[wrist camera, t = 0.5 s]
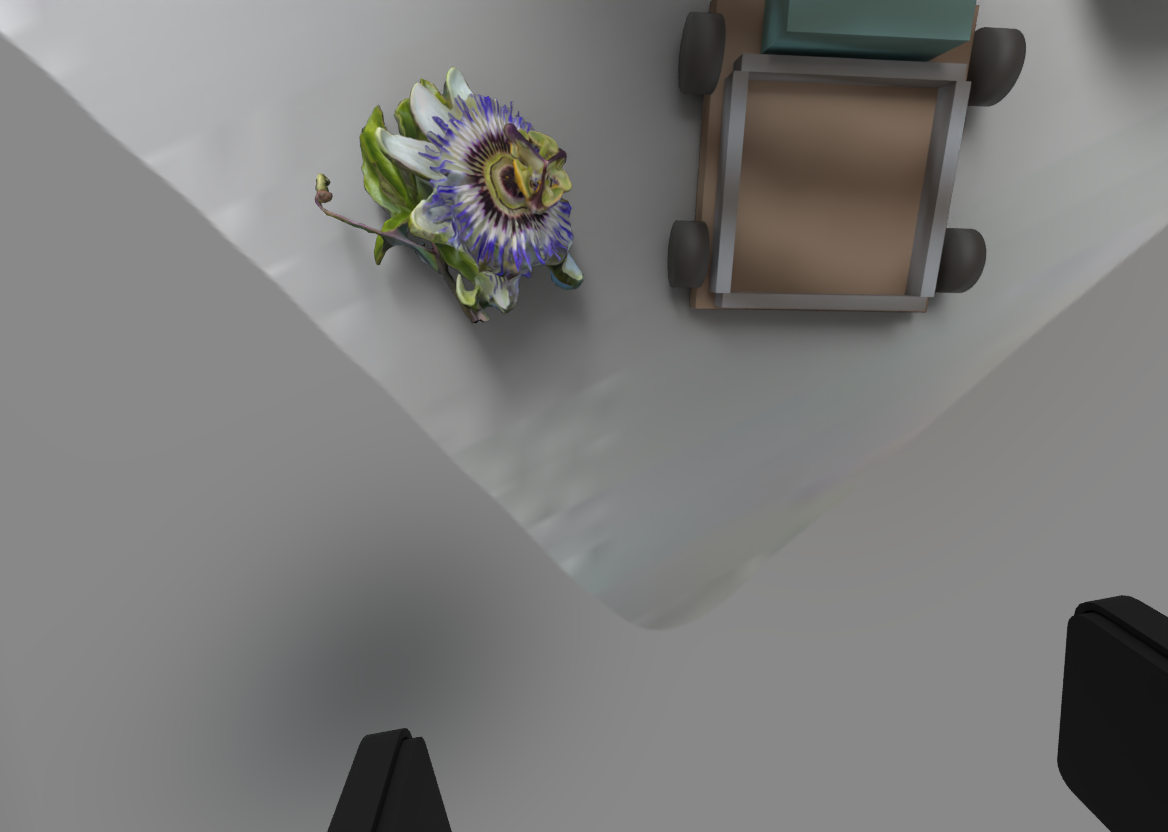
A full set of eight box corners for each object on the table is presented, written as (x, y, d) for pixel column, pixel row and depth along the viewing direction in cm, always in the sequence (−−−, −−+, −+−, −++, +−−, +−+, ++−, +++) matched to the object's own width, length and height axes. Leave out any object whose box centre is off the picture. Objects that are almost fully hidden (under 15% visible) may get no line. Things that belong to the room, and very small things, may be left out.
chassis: (682, 1, 32) (707, -44, 27) (985, 17, 33) (1061, -23, 28) (664, 305, 36) (683, 314, 31) (934, 310, 37) (992, 319, 32)
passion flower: (534, 195, 39) (640, 269, 31) (401, 297, 38) (476, 399, 30) (440, 13, 30) (554, 52, 23) (266, 140, 30) (322, 225, 22)
